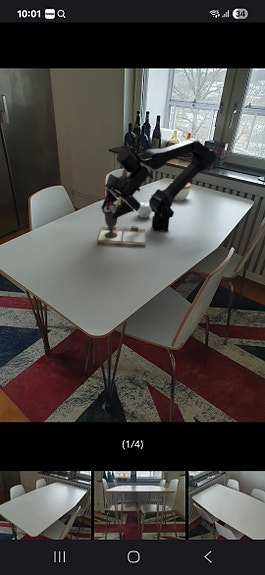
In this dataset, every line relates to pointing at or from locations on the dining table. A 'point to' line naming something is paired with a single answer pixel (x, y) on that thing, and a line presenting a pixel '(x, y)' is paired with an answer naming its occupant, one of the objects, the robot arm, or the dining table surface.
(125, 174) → the hand bell
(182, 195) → the lidded jar
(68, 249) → the dining table surface
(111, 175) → the robot arm
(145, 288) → the dining table surface
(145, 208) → the plain white apple
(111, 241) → the board
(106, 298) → the dining table surface
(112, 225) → the sundae
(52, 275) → the dining table surface
